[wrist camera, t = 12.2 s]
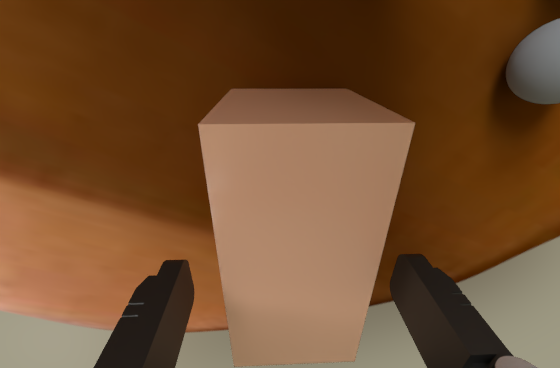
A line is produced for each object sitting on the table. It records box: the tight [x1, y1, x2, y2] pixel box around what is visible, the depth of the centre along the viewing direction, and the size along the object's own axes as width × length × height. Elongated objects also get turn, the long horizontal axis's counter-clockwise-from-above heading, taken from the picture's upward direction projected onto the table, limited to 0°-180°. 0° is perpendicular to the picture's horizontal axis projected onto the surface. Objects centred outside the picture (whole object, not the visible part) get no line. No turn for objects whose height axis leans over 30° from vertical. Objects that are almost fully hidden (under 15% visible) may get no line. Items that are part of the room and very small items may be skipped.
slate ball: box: [506, 18, 560, 104], centre depth 11 cm, size 4×4×4 cm
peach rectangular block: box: [198, 89, 415, 367], centre depth 13 cm, size 12×6×7 cm, turn 0°
